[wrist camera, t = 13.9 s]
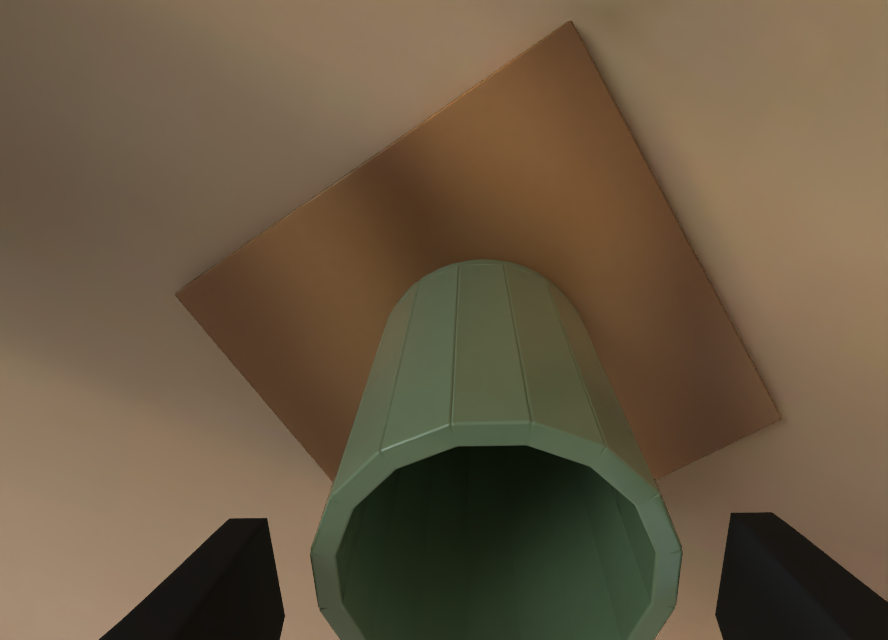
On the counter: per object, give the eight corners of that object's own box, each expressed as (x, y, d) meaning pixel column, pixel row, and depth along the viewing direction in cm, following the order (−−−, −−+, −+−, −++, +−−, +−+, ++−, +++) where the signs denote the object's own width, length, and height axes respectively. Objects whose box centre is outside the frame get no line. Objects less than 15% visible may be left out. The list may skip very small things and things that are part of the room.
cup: (388, 447, 18) (332, 708, 11) (371, 262, 16) (288, 425, 9) (583, 444, 18) (664, 710, 10) (591, 254, 16) (700, 418, 8)
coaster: (425, 581, 20) (424, 591, 20) (179, 289, 17) (173, 294, 17) (776, 412, 18) (782, 419, 17) (568, 21, 14) (571, 19, 14)
